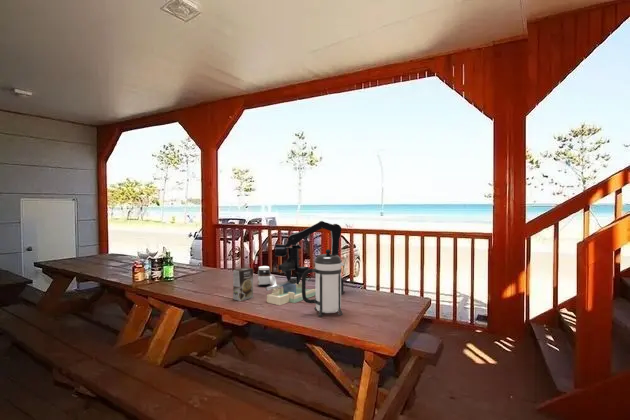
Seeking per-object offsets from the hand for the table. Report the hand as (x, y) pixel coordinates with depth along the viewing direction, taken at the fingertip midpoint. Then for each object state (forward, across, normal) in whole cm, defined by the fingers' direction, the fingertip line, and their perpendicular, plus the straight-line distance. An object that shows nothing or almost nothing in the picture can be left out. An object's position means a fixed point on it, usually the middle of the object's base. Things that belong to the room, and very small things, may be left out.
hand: (293, 283), depth 188 cm
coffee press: (+6, +34, -17) cm, 39 cm away
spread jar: (+6, -26, +4) cm, 27 cm away
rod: (+3, +3, -9) cm, 10 cm away
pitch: (+6, +4, -7) cm, 10 cm away
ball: (+3, +4, -16) cm, 17 cm away
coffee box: (+6, -16, -24) cm, 29 cm away
